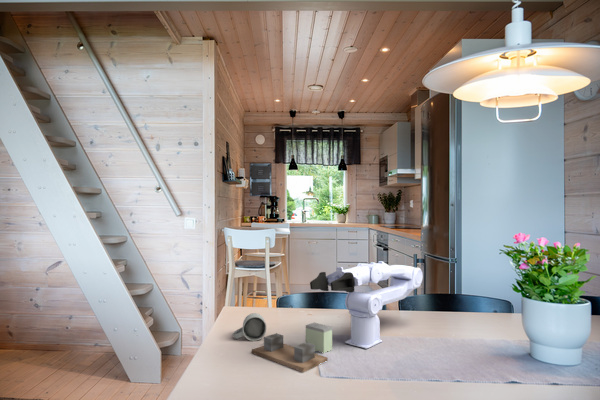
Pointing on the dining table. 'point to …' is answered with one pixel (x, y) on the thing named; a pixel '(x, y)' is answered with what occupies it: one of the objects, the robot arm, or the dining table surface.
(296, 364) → the post base
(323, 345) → the bracket block
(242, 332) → the ceramic mug
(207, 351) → the dining table surface
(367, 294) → the robot arm
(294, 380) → the dining table surface
